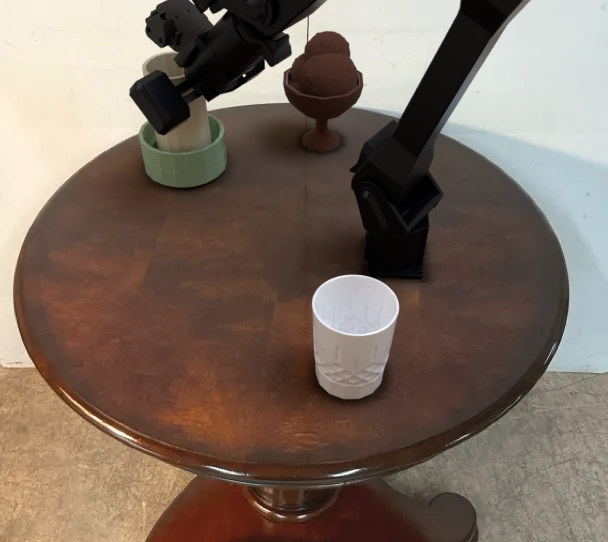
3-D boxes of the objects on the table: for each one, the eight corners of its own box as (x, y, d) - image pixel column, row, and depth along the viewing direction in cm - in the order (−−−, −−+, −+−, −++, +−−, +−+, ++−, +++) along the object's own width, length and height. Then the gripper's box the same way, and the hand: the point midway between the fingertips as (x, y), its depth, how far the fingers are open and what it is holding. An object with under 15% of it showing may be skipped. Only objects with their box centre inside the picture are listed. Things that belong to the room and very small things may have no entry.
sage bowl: (232, 146, 98) (229, 111, 94) (220, 193, 90) (216, 156, 86) (155, 143, 98) (149, 107, 94) (137, 189, 91) (130, 152, 87)
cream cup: (222, 160, 93) (210, 67, 83) (176, 178, 90) (157, 85, 80) (197, 136, 97) (183, 45, 87) (152, 153, 94) (132, 61, 84)
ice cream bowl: (273, 128, 101) (271, 24, 90) (345, 117, 104) (351, 14, 93) (294, 167, 95) (294, 61, 84) (370, 154, 97) (380, 49, 86)
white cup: (382, 411, 67) (393, 341, 60) (303, 397, 68) (304, 327, 61) (392, 351, 72) (403, 280, 65) (318, 339, 73) (320, 269, 66)
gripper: (241, -45, 80) (180, 27, 92) (125, 9, 69) (75, 83, 82) (297, 40, 82) (231, 100, 95) (194, 105, 72) (135, 162, 84)
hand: (171, 109), depth 89 cm, fingers closed on cream cup, 7 cm apart
